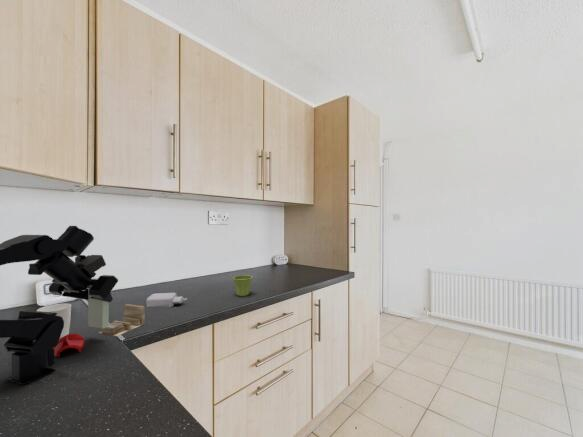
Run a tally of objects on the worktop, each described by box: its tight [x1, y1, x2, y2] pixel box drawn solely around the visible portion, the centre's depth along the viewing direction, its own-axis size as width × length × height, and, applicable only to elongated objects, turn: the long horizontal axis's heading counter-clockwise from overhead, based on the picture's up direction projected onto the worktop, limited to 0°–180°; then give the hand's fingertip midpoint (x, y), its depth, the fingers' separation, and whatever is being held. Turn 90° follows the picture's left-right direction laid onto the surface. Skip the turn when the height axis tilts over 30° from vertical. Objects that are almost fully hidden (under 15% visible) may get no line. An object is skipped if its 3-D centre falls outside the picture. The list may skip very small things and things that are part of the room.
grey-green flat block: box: [87, 277, 110, 330], centre depth 78 cm, size 2×6×14 cm, turn 72°
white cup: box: [36, 303, 72, 339], centre depth 81 cm, size 8×8×10 cm
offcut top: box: [103, 321, 123, 331], centre depth 84 cm, size 3×4×1 cm
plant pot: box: [232, 274, 253, 297], centre depth 130 cm, size 9×9×9 cm
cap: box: [53, 333, 86, 358], centre depth 71 cm, size 8×6×6 cm
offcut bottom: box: [101, 326, 125, 336], centre depth 84 cm, size 4×5×1 cm
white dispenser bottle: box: [145, 292, 188, 308], centre depth 114 cm, size 5×9×15 cm
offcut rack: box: [98, 303, 146, 337], centre depth 87 cm, size 10×8×7 cm
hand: (102, 299), depth 80 cm, fingers closed on grey-green flat block, 6 cm apart
